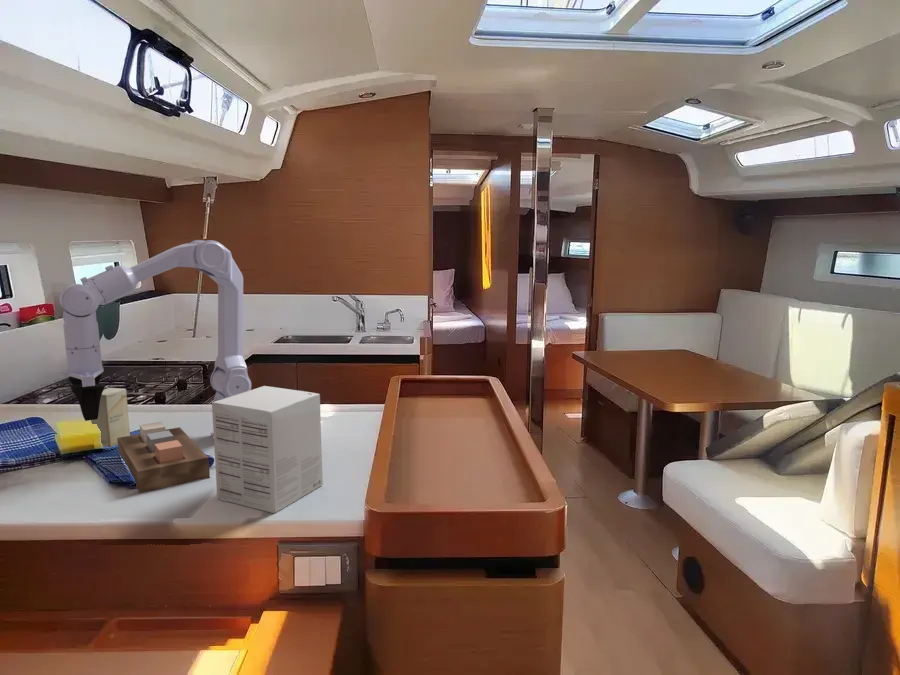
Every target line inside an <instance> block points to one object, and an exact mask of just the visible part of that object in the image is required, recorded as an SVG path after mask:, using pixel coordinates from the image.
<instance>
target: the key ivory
mask: <svg viewBox="0 0 900 675" xmlns="http://www.w3.org/2000/svg"><path fill="white" fill-rule="evenodd" d="M165 430H166V426H165V424H164V423H163V422H161V421H158V422H156V421H155V422H151V423H145V424H139V432H140V433H139V434H140V435H141V441H142V443H146V442H147V434H151V433H156V432H162V431H165Z"/></svg>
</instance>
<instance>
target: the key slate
mask: <svg viewBox="0 0 900 675" xmlns="http://www.w3.org/2000/svg"><path fill="white" fill-rule="evenodd" d="M169 441H174V437H173V435H172V434H171V433H170V431H169V430H168V431H162V432H156V433H151V434H147V445H148V451H149V452H150V453H154V452H155V446H154V444H158V443H163V442H169Z"/></svg>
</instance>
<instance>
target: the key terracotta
mask: <svg viewBox="0 0 900 675" xmlns="http://www.w3.org/2000/svg"><path fill="white" fill-rule="evenodd" d="M154 446H155V459H156V462H157V464H163V463H168V462H173V461H178V460H183V447H182V445H181V444H180V443H179V441H178V440H174V441H169V442H163V443H158V444H154Z"/></svg>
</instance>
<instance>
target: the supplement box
mask: <svg viewBox="0 0 900 675" xmlns="http://www.w3.org/2000/svg"><path fill="white" fill-rule="evenodd" d="M211 412H212V413H211V414H212V427H213V429H212V432H214V437H213V444H214V461H215V463H214V464H215V477H216V478H215V480H216V481H215V482H216V497H217V499H218V500H221V501H226V502H229V503H231V504H232V503H233V504H236V505H240V506H244V507H248V508H252V509H255V510H260V511H263V512H267V513H271V514H276V513H278V512H279V511H282V509H284V508H286V507H288V506H289V505H291V504H293V503H294V502H296V501H298V500H300V499H301V498H303V497H305V496H306V495H308V494H309V493H311V492H313V491H314V490H316V489H318V488H320V487H321V486H322V485H324V484H323V483H324V482H323V481H324V480H323V454H322V453H323V450H322V424H321V423H322V422H321V421H322V420H321V394H320V393H316V392H310V391H306V390H305V391H304V390H297V389H291V388H290V389H289V388H283V387H282V388H281V387H275V386H267V385H263V386H259V387H257V388H254V389H251V390H250V391H247V392H244V393H241V394H238V395H234V396H231V397H228V398H225V399H222V400H218V401H215V402H214V401H212V402H211Z"/></svg>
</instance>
